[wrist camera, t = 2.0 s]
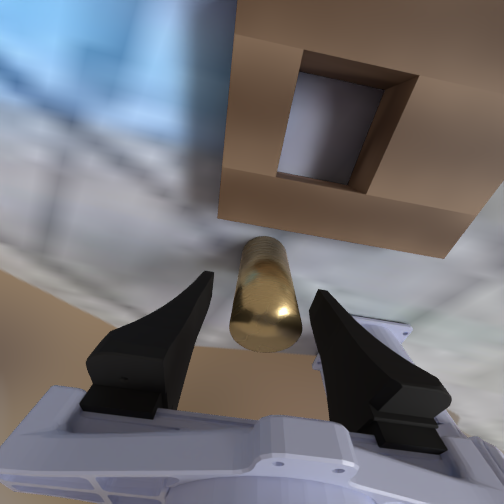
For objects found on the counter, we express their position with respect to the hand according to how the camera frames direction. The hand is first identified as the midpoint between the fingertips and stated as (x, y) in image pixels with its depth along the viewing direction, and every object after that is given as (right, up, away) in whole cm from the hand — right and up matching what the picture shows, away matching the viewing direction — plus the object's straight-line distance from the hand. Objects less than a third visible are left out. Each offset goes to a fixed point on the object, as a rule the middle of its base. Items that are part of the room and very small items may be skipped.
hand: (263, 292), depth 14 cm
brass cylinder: (0, +2, +4) cm, 5 cm away
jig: (+6, +10, 0) cm, 12 cm away
